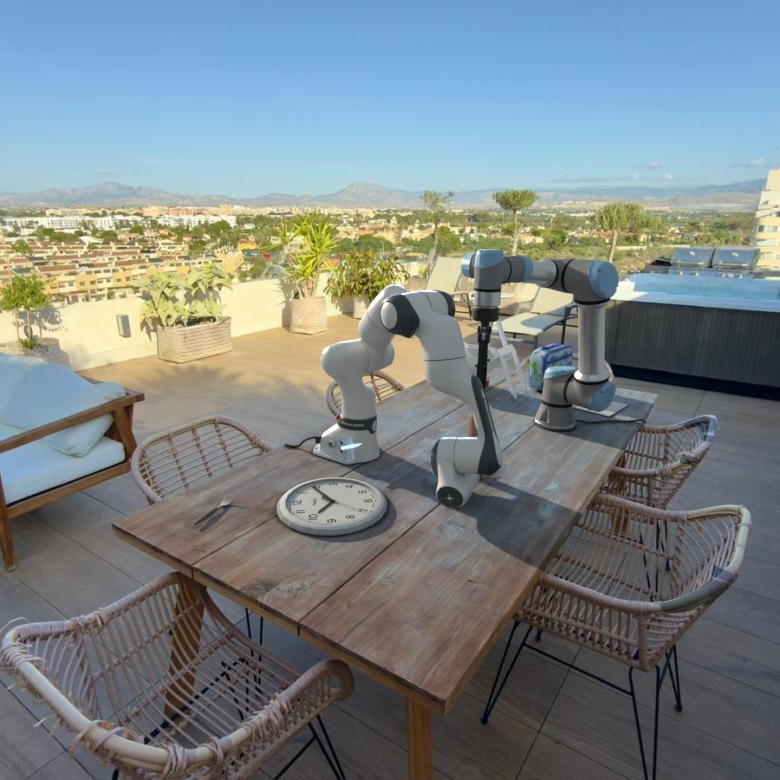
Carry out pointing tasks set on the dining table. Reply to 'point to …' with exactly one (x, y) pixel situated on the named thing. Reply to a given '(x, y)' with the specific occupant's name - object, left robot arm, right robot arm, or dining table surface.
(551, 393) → the right robot arm
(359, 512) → the wall clock
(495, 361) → the white plastic object
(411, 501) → the dining table surface
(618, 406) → the invitation card
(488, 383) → the cap
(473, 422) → the bottle
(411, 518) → the dining table surface
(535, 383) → the lunch box
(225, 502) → the fork
